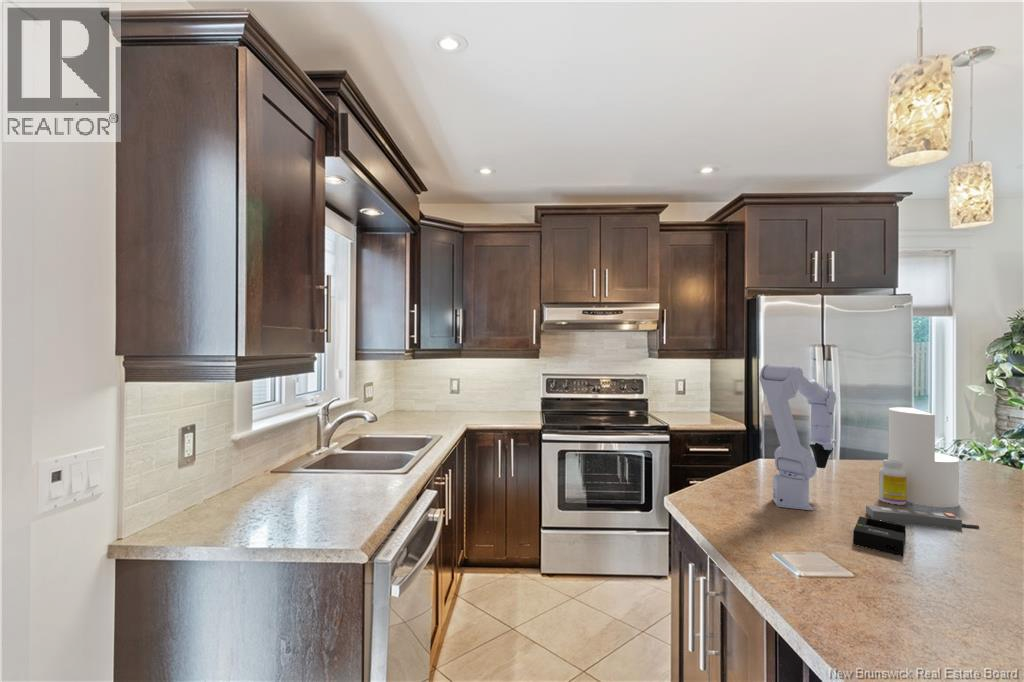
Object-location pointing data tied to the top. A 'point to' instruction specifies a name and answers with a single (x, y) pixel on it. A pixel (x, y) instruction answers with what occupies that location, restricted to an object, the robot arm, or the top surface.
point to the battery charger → (880, 535)
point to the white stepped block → (922, 459)
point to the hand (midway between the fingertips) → (820, 467)
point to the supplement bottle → (892, 483)
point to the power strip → (916, 517)
